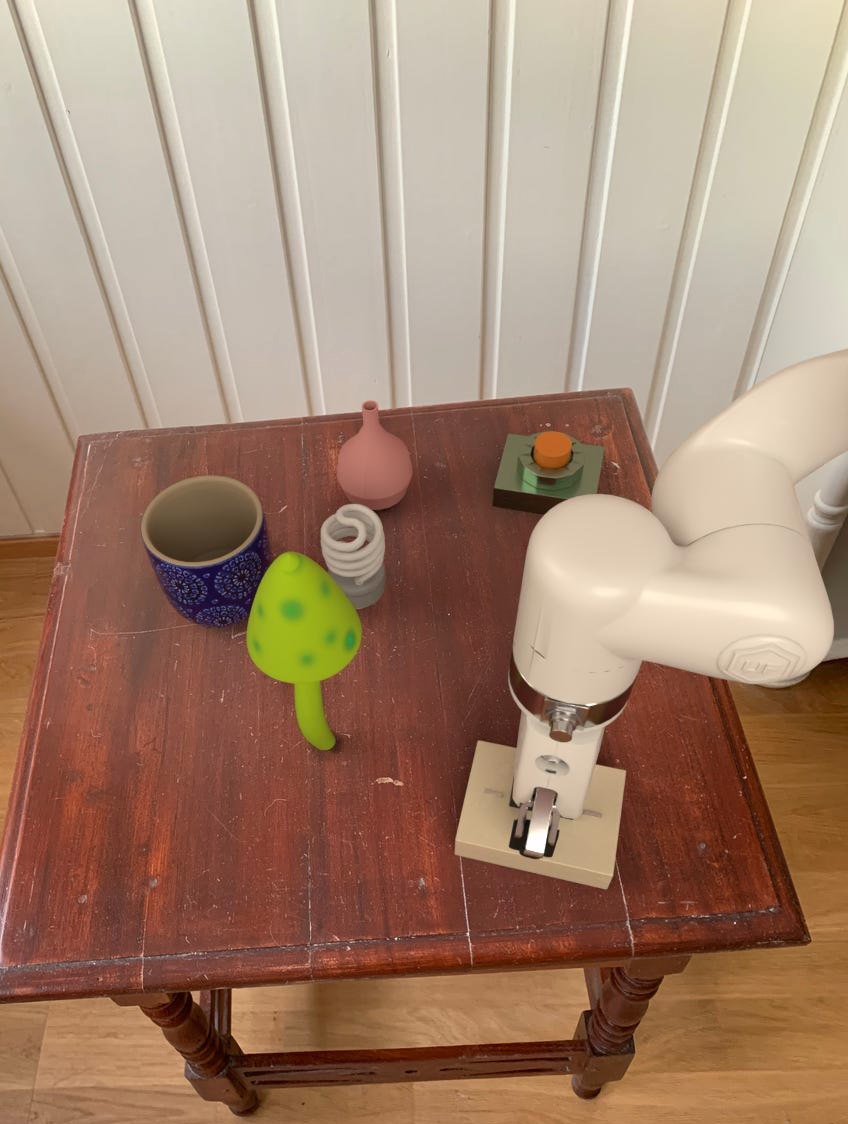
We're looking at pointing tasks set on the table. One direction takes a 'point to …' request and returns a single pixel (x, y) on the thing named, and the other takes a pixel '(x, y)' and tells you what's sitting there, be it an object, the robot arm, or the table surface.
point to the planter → (208, 548)
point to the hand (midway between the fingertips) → (541, 790)
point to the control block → (544, 475)
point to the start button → (552, 450)
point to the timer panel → (581, 841)
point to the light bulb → (355, 553)
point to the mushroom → (303, 635)
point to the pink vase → (374, 464)
